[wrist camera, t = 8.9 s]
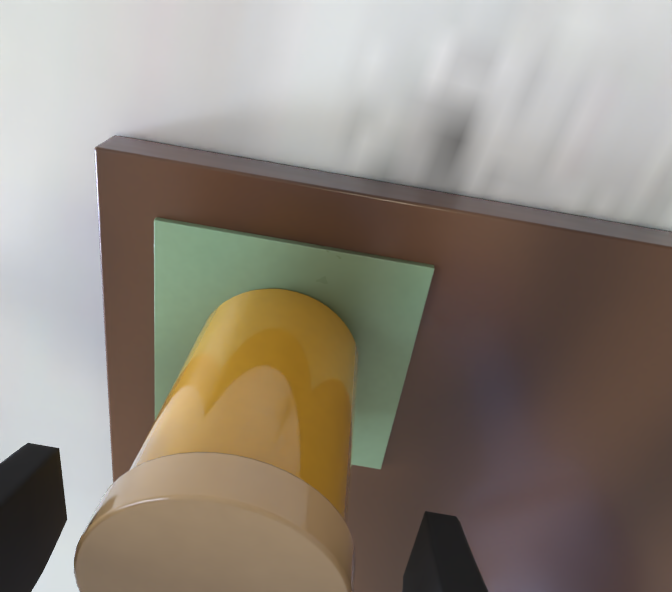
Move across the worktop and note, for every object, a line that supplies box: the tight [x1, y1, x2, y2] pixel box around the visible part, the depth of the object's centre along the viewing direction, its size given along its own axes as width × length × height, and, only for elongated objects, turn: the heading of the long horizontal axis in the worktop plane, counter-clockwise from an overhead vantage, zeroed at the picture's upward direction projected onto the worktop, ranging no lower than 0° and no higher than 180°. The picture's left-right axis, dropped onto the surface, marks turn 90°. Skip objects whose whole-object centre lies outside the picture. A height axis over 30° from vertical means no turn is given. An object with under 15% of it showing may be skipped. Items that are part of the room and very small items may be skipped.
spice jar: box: [74, 289, 359, 592], centre depth 13 cm, size 5×5×7 cm
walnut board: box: [95, 136, 672, 592], centre depth 18 cm, size 22×17×1 cm
